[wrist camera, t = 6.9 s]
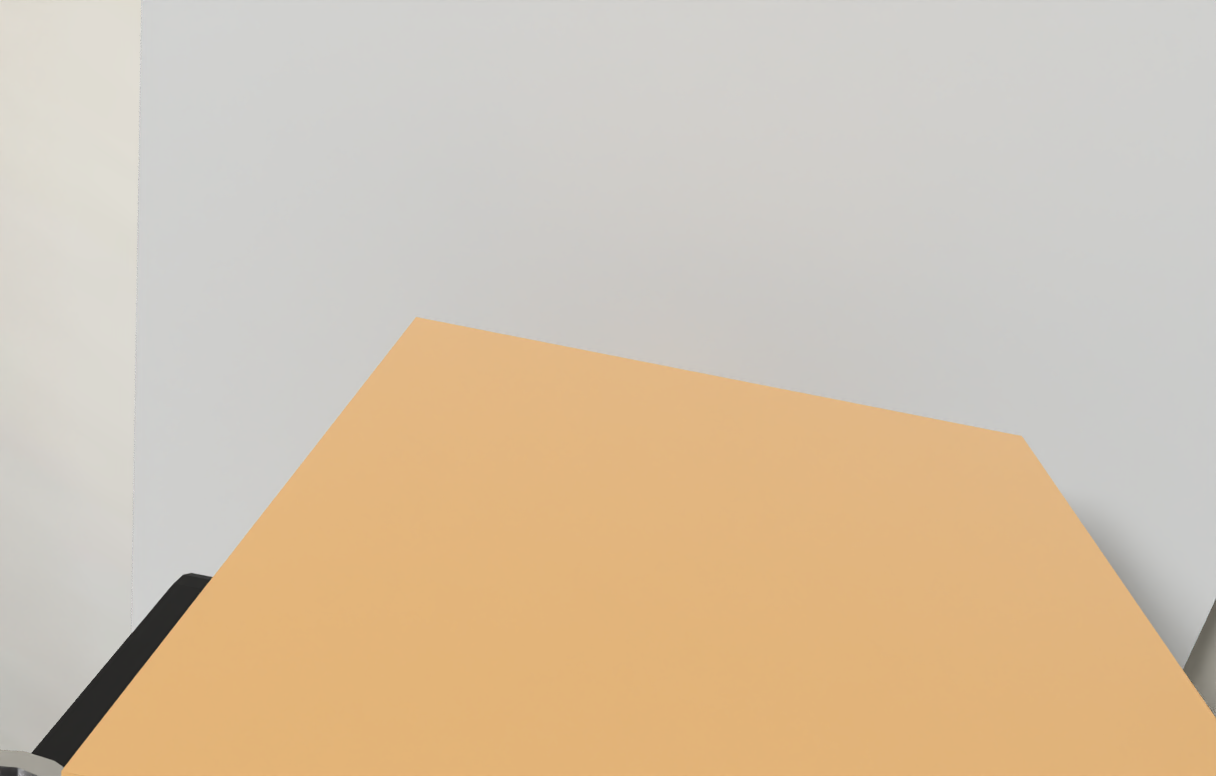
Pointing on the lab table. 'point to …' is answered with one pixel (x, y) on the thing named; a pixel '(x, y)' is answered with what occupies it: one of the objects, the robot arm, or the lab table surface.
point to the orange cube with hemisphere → (653, 594)
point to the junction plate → (689, 230)
